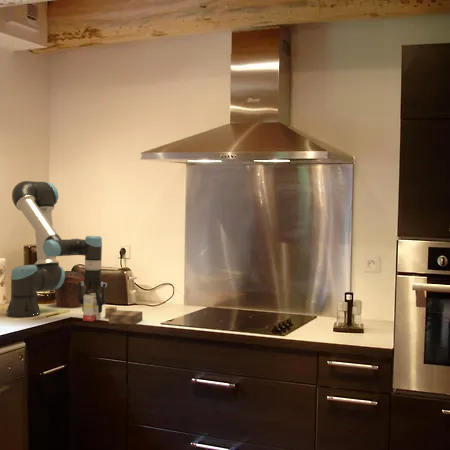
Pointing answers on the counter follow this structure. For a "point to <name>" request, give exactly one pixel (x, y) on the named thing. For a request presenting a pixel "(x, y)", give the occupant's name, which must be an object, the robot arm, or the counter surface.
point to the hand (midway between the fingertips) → (91, 319)
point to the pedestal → (125, 317)
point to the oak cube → (109, 311)
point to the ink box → (90, 307)
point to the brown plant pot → (69, 290)
